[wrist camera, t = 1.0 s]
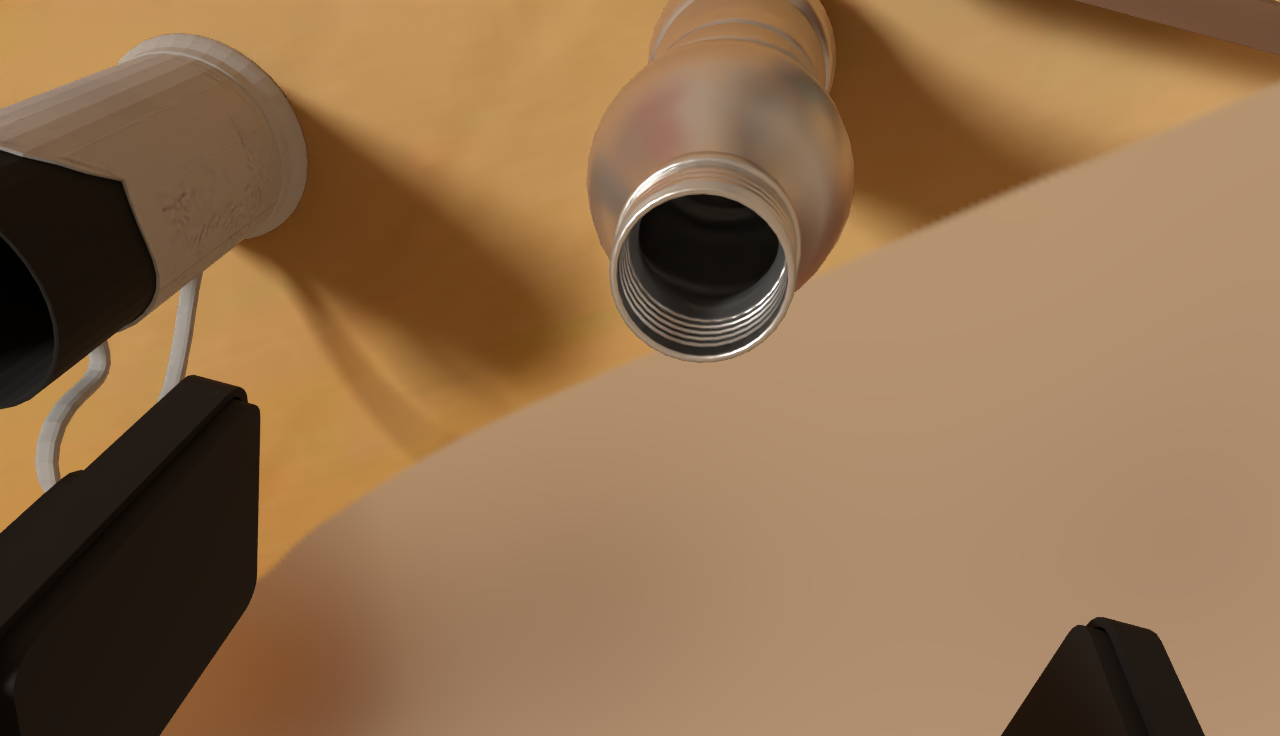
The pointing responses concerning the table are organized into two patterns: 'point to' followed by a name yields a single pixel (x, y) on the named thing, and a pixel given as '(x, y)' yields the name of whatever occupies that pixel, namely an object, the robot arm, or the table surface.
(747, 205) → the plastic bottle
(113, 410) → the table surface
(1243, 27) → the u rest
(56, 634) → the robot arm
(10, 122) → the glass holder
